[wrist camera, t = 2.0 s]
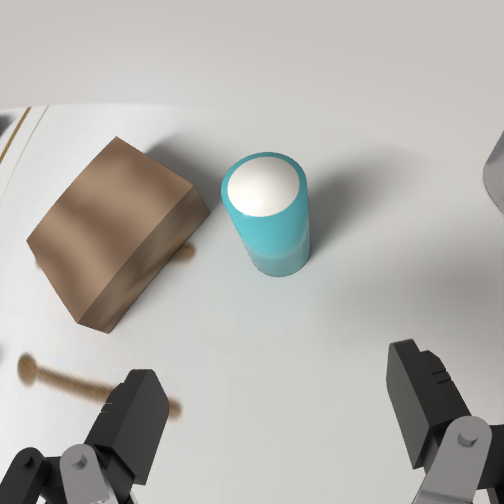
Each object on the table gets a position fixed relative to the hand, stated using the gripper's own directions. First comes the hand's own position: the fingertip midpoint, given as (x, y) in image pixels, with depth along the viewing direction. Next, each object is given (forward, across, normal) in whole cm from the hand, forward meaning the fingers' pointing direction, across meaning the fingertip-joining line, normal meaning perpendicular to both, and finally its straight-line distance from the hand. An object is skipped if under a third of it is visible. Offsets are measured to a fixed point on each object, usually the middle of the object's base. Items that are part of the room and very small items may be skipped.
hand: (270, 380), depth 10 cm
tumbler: (+20, 0, +3) cm, 20 cm away
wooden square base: (+23, +17, 0) cm, 28 cm away
